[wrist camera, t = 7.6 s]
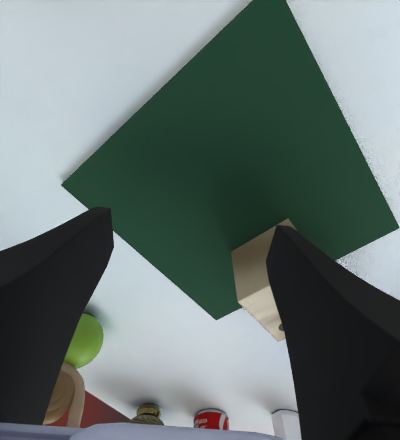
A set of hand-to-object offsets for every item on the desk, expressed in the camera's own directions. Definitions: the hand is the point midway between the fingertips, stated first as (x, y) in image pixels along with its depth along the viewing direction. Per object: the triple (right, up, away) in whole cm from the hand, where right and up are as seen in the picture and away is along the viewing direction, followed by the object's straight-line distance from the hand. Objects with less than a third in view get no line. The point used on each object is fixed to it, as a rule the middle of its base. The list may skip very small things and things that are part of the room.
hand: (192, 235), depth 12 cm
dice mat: (+3, +2, +11) cm, 12 cm away
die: (+5, -2, +9) cm, 11 cm away
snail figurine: (-13, -11, +19) cm, 25 cm away
